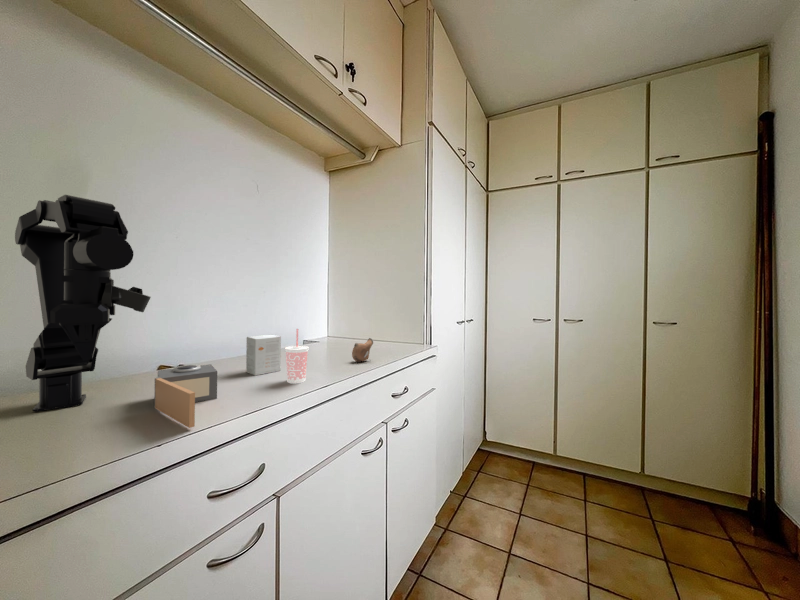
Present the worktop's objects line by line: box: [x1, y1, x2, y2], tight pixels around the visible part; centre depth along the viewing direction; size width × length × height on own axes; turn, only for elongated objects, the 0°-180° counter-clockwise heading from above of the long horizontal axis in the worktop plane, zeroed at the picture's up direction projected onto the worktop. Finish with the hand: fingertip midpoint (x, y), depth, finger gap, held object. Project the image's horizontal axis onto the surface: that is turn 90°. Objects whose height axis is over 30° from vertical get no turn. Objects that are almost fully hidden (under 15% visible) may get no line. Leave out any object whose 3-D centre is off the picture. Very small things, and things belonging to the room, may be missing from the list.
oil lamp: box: [351, 337, 374, 363], centre depth 107 cm, size 9×4×8 cm, turn 135°
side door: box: [153, 377, 196, 429], centre depth 56 cm, size 1×15×6 cm, turn 57°
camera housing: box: [157, 364, 218, 403], centre depth 67 cm, size 8×10×7 cm
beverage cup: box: [284, 328, 310, 385], centre depth 81 cm, size 6×6×14 cm
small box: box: [245, 334, 282, 376], centre depth 90 cm, size 8×6×10 cm
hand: (87, 359), depth 54 cm, fingers closed
